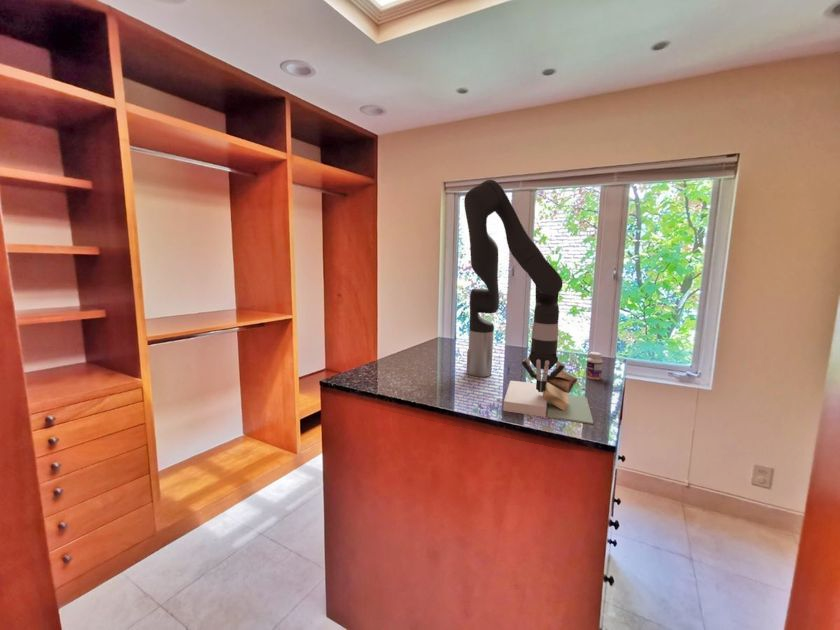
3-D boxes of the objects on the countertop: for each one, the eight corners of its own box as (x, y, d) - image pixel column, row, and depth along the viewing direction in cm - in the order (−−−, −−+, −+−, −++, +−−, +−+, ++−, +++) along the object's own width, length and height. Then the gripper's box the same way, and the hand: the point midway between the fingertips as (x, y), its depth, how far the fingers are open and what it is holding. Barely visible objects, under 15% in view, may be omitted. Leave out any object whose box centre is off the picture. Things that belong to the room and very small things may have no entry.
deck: (503, 410, 110) (503, 401, 110) (509, 388, 129) (510, 380, 129) (545, 417, 107) (546, 407, 106) (546, 393, 125) (546, 384, 125)
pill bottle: (582, 375, 146) (585, 351, 144) (596, 375, 146) (598, 351, 144) (590, 379, 140) (592, 355, 139) (603, 379, 141) (606, 354, 139)
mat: (547, 417, 106) (547, 416, 106) (547, 393, 125) (547, 392, 125) (593, 424, 103) (593, 422, 102) (586, 398, 121) (586, 397, 121)
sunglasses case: (570, 393, 125) (561, 375, 126) (550, 399, 129) (542, 382, 130) (577, 379, 141) (569, 363, 142) (560, 385, 144) (552, 369, 145)
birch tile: (542, 398, 111) (547, 391, 111) (543, 388, 120) (547, 382, 119) (564, 411, 110) (568, 404, 109) (563, 400, 118) (567, 393, 118)
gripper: (521, 337, 112) (517, 392, 114) (568, 341, 107) (563, 398, 110) (523, 332, 119) (519, 384, 121) (567, 336, 114) (563, 390, 117)
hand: (540, 391), depth 116 cm, fingers closed
